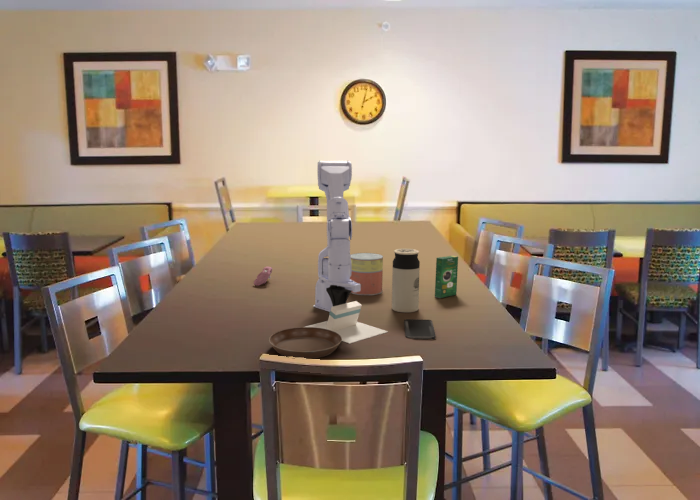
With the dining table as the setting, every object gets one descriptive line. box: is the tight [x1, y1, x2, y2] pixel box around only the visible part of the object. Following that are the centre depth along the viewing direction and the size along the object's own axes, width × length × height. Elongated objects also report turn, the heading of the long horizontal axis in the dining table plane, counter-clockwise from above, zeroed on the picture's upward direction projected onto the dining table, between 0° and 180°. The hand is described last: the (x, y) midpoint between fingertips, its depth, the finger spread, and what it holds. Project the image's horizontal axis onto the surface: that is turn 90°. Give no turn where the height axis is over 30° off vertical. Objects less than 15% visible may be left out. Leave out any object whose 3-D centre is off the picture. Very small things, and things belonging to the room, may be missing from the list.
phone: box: [403, 318, 437, 340], centre depth 167 cm, size 8×1×15 cm
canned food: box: [350, 252, 384, 296], centre depth 208 cm, size 11×11×12 cm
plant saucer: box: [268, 326, 343, 359], centre depth 152 cm, size 18×18×3 cm
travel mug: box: [391, 248, 421, 314], centre depth 185 cm, size 8×8×18 cm
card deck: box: [326, 300, 363, 331], centre depth 167 cm, size 2×9×6 cm, turn 134°
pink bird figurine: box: [253, 266, 273, 287], centre depth 219 cm, size 10×5×7 cm, turn 1°
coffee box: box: [434, 255, 459, 299], centre depth 202 cm, size 8×3×13 cm, turn 129°
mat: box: [304, 320, 389, 345], centre depth 167 cm, size 18×14×1 cm
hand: (339, 313), depth 168 cm, fingers closed
